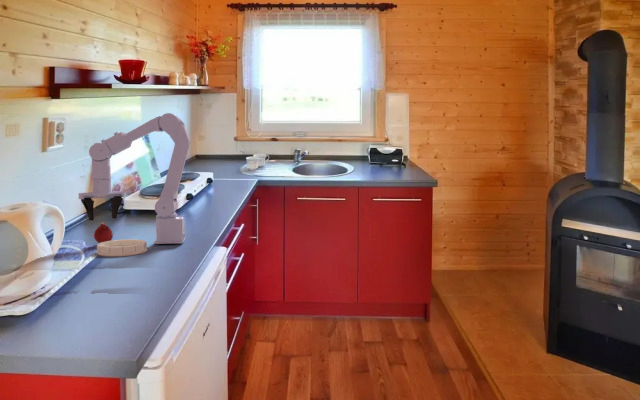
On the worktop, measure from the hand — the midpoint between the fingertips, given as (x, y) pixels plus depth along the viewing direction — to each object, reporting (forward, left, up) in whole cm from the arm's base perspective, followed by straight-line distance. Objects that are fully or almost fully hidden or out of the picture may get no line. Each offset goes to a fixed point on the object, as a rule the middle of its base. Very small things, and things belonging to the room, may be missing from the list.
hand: (103, 219), depth 165 cm
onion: (0, 0, -9) cm, 9 cm away
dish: (-9, +12, -9) cm, 18 cm away
